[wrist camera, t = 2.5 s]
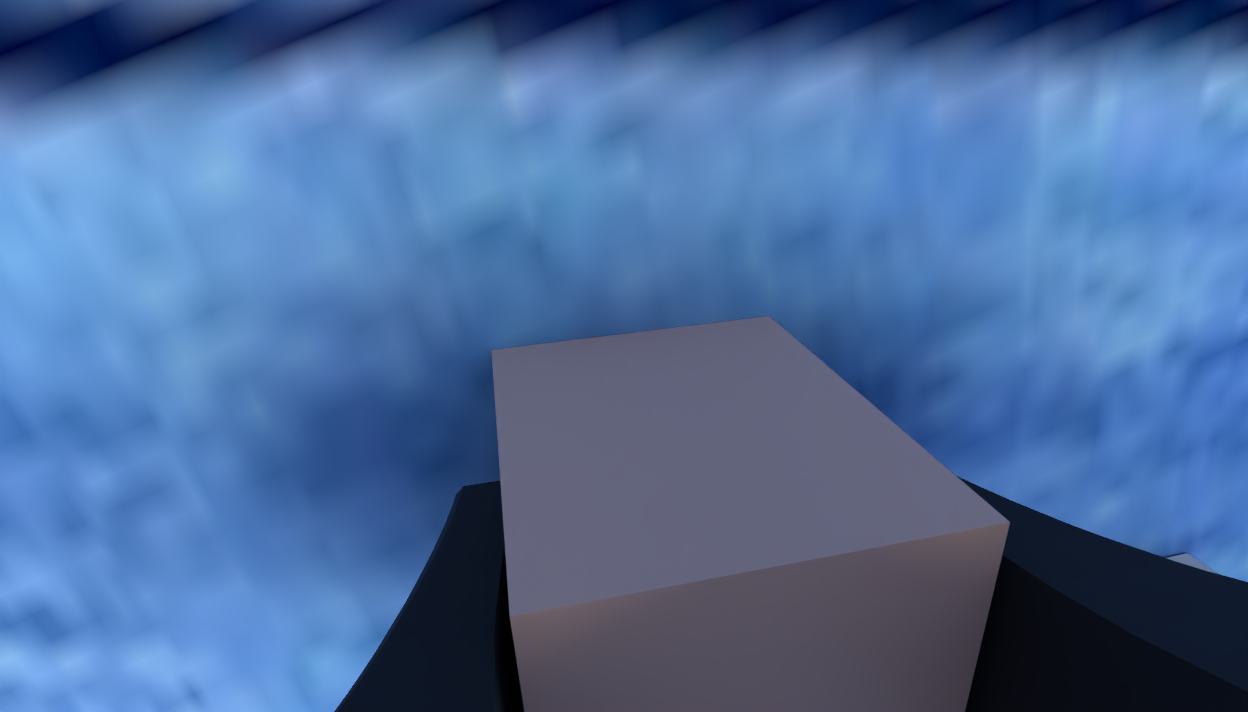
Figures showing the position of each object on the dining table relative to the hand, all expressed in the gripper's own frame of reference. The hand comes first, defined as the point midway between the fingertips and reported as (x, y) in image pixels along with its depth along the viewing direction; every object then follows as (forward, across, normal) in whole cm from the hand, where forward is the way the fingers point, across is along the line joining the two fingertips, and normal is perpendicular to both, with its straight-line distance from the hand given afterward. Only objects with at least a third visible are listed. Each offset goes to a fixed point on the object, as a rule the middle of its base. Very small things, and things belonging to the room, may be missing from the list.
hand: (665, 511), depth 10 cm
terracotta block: (+2, 0, 0) cm, 2 cm away
